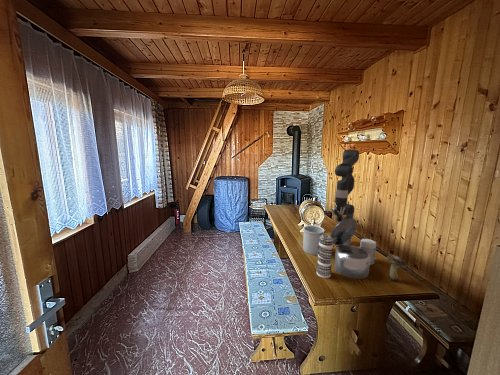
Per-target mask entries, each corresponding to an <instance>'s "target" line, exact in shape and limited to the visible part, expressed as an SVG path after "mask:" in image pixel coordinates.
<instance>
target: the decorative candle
mask: <svg viewBox="0 0 500 375" xmlns="http://www.w3.org/2000/svg"><path fill="white" fill-rule="evenodd" d="M319 238H320V242H319V243H318V255H317V258H318V259H317V262H316V270H315V271H316V275H317V276H319V277H320V278H324V279H329V278H330V277H331V276H332V267H333V265H332V260H333V256H334V250H335V249H334V247H335V244H333V240H334V239H333V238H332V236H331V234H325V233H324V235H322V236H320V237H319Z"/></svg>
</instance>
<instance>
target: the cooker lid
mask: <svg viewBox="0 0 500 375" xmlns="http://www.w3.org/2000/svg"><path fill="white" fill-rule="evenodd" d="M352 217H353V218H352ZM344 218H345V219H343V220H341V221H340V222H337V224H336V225H335V226H334V227H333V229H332V230H331V233H330V236H332V238H333V239H334V240H333V245H334V246H338V245H341V244H343V243H345V242H347V241H348V240H349V239H350V238H351V239H352V237H353V236H354V234H355V232H356V230H357V228H358V222H357V220H356V219H355V218H354V216H353V214H349V215H345V217H344Z"/></svg>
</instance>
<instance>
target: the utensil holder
mask: <svg viewBox="0 0 500 375" xmlns="http://www.w3.org/2000/svg"><path fill="white" fill-rule="evenodd" d="M324 234H325V229H324V228H323V227H321V226H318V225H314V224H313V225H312V224H311V225H305V226H304V227H303V239H302V241H303V242H302V251H304V253H306V254H308V255H311V256H318V243H319V242H320V238H319V237H320V236H322V235H324Z"/></svg>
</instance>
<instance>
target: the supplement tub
mask: <svg viewBox="0 0 500 375" xmlns="http://www.w3.org/2000/svg"><path fill="white" fill-rule="evenodd" d="M359 248H362V249H364V250H366V251H367V252H369V253H370V255H371V259H370V266H371V265H373V264H375V258H376V252H377V241H375V240H372V239H370V238H362V239H360V245H359Z"/></svg>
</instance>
